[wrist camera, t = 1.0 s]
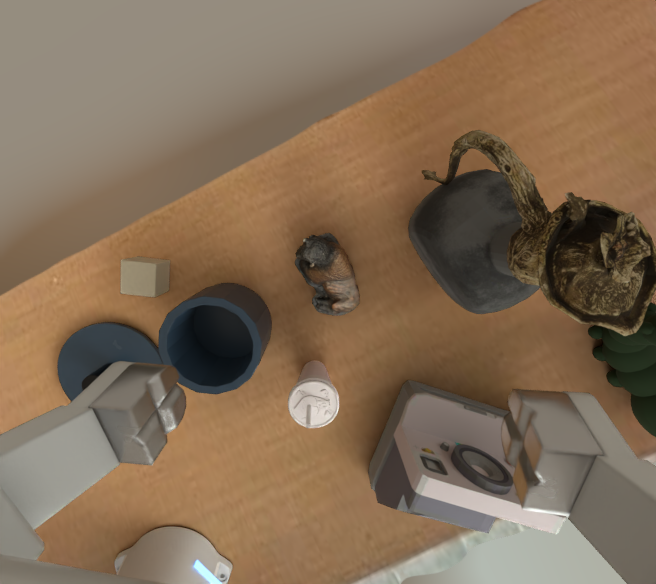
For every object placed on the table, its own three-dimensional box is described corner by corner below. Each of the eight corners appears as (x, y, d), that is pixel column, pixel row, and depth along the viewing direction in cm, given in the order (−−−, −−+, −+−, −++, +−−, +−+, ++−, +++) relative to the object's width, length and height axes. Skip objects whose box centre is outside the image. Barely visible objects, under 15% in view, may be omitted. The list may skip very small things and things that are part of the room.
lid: (166, 421, 54) (149, 442, 49) (64, 411, 53) (37, 431, 48) (169, 327, 51) (152, 339, 46) (62, 315, 50) (33, 326, 45)
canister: (267, 367, 52) (256, 398, 43) (185, 358, 52) (156, 388, 43) (275, 288, 50) (265, 303, 41) (190, 278, 50) (160, 291, 40)
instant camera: (531, 420, 55) (608, 493, 41) (460, 521, 59) (508, 622, 44) (416, 361, 53) (453, 414, 38) (349, 469, 56) (359, 557, 41)
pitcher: (444, 306, 51) (611, 419, 22) (370, 195, 48) (451, 152, 19) (508, 262, 50) (776, 320, 21) (438, 146, 47) (638, 18, 18)
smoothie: (289, 355, 52) (278, 403, 38) (332, 348, 52) (337, 394, 38) (297, 395, 53) (289, 455, 40) (339, 388, 53) (346, 445, 40)
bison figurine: (367, 299, 51) (379, 317, 41) (324, 320, 51) (325, 344, 41) (330, 223, 49) (332, 223, 39) (284, 246, 49) (276, 253, 39)
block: (169, 291, 50) (154, 297, 46) (137, 287, 50) (120, 293, 45) (170, 260, 49) (156, 263, 45) (138, 256, 49) (120, 259, 45)
